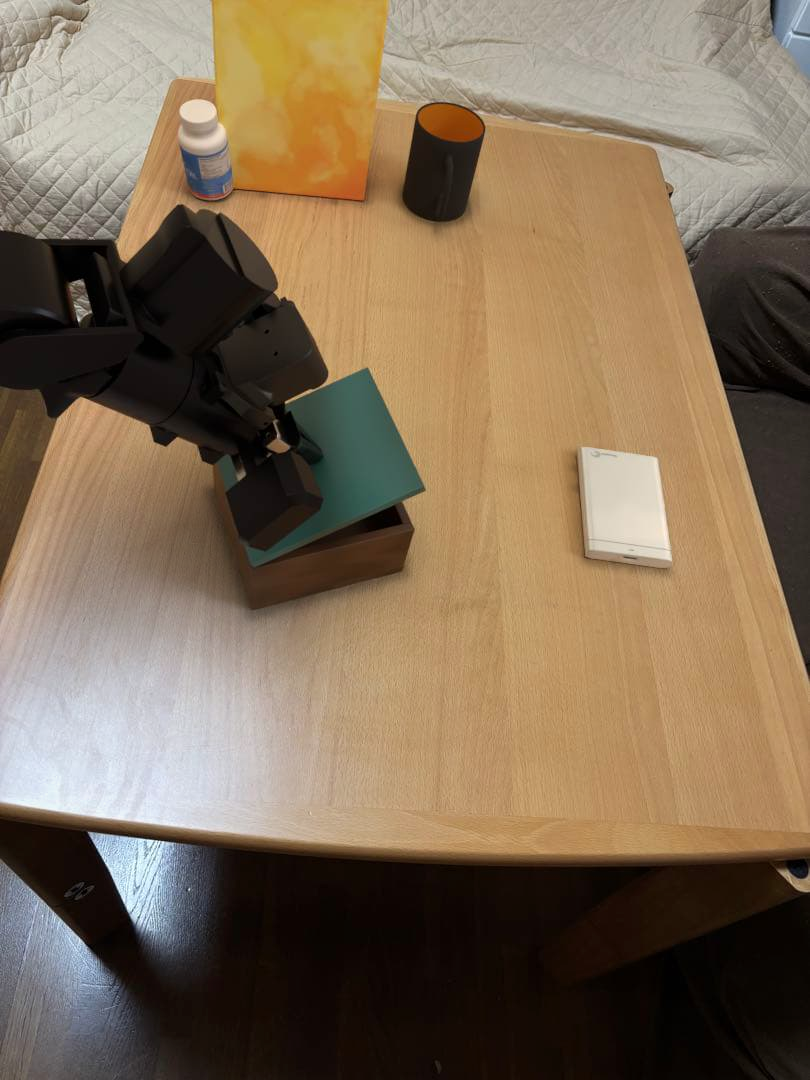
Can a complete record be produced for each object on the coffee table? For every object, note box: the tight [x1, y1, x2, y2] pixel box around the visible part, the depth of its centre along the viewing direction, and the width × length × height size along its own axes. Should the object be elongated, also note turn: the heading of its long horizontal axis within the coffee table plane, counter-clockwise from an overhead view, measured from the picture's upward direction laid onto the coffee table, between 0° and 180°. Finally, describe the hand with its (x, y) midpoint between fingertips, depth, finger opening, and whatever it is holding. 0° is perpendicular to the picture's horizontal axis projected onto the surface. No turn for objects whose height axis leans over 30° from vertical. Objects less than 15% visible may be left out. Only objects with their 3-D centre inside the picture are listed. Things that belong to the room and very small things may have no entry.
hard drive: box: [576, 446, 673, 569], centre depth 78 cm, size 2×8×12 cm
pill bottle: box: [177, 98, 234, 201], centre depth 91 cm, size 6×5×10 cm
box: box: [212, 463, 416, 611], centre depth 68 cm, size 14×13×7 cm
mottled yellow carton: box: [211, 0, 390, 201], centre depth 90 cm, size 18×12×24 cm
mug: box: [401, 101, 486, 222], centre depth 96 cm, size 8×12×10 cm
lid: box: [217, 366, 426, 567], centre depth 63 cm, size 14×13×1 cm
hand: (318, 456), depth 63 cm, fingers closed, pressing on lid
